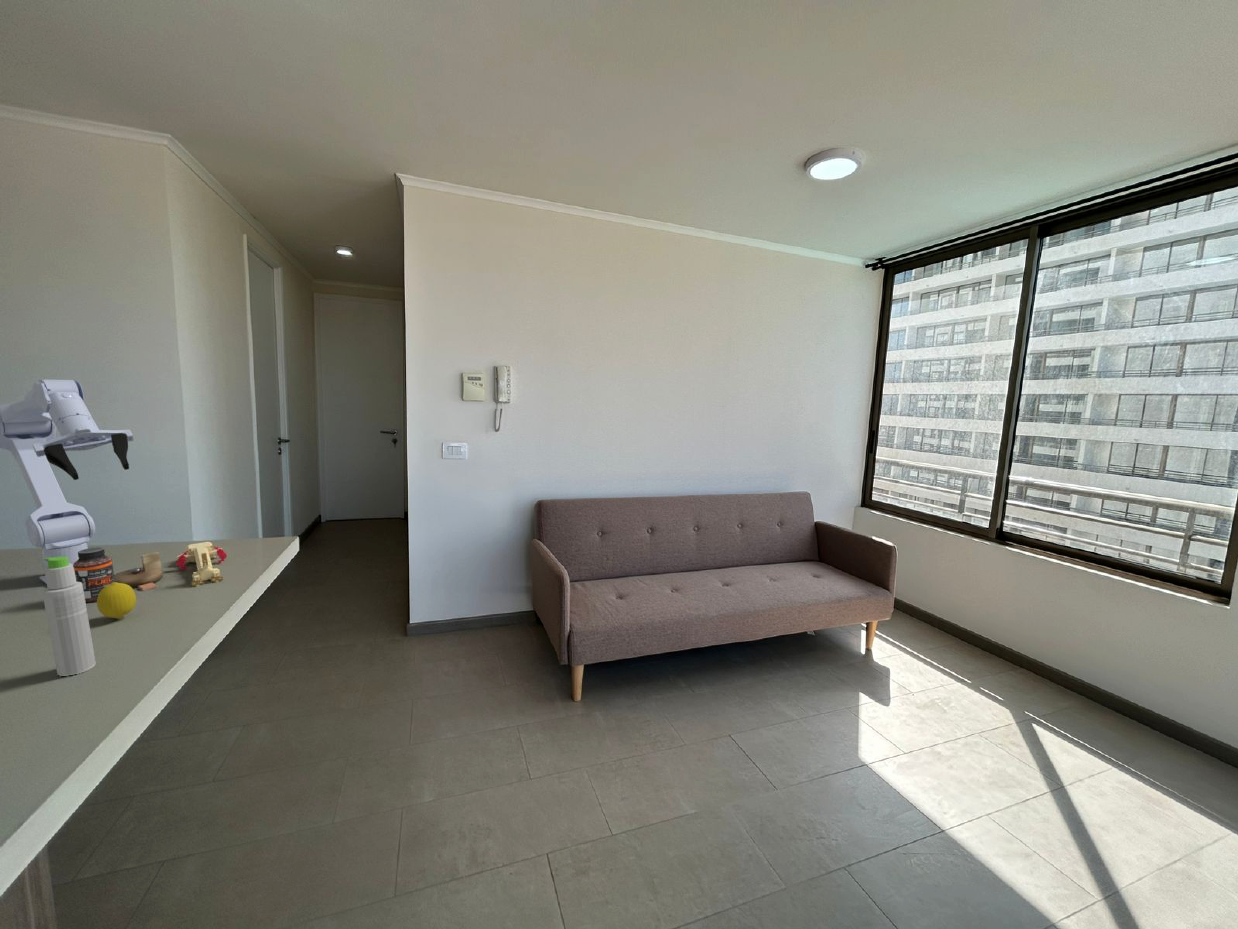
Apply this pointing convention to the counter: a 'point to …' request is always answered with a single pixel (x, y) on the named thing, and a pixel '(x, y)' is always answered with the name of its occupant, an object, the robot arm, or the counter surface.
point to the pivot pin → (136, 570)
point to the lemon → (116, 600)
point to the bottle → (67, 618)
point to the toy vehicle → (202, 561)
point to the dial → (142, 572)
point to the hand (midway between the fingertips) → (102, 471)
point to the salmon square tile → (147, 586)
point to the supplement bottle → (93, 572)
